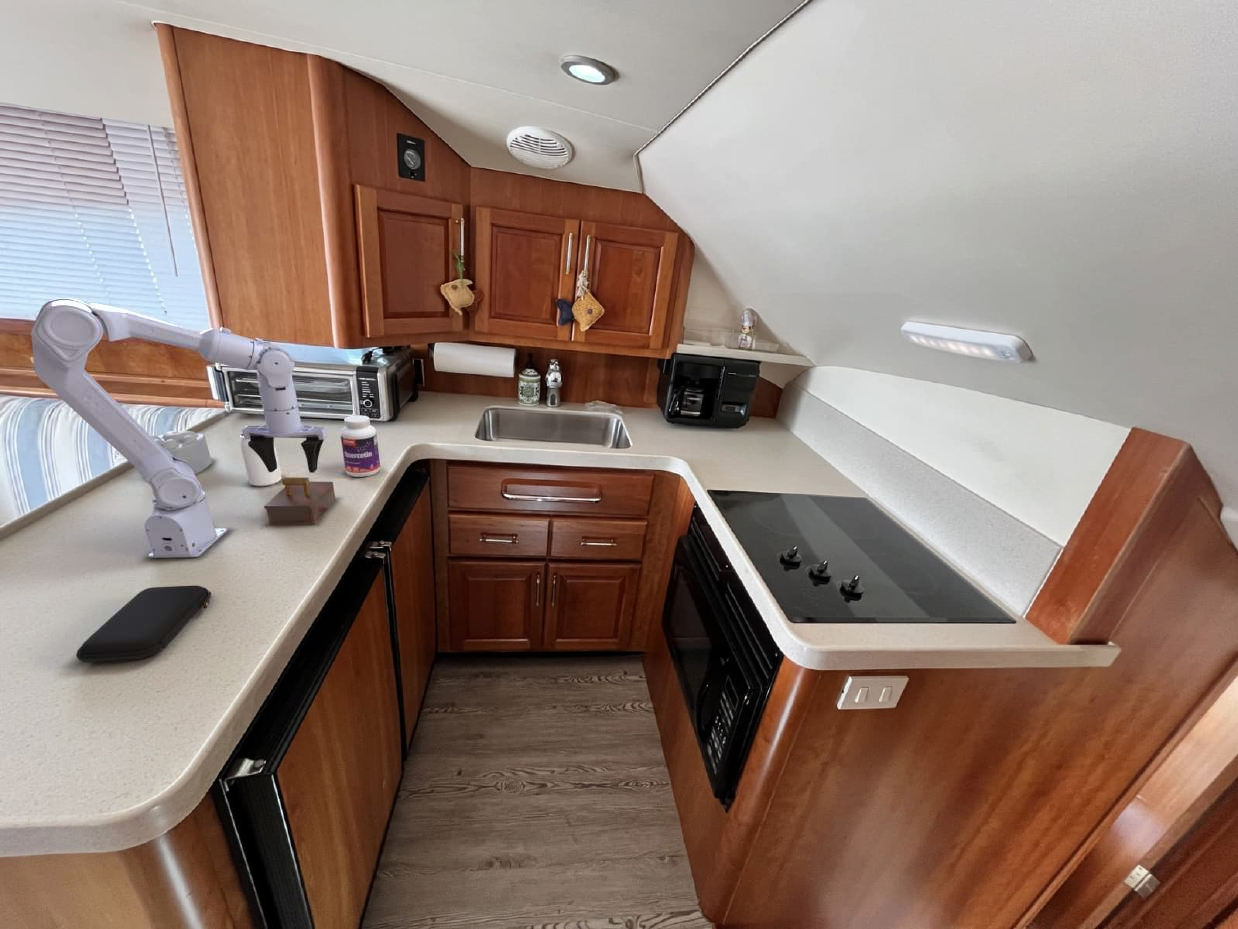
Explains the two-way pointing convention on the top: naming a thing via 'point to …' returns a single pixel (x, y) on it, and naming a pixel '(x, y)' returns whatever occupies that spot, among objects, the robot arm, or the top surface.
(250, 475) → the can
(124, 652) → the carrying case
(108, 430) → the robot arm
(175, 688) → the top surface
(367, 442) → the pill bottle
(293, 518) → the keepsake box
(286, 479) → the lid
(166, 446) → the lumpy-topped squat cylinder
